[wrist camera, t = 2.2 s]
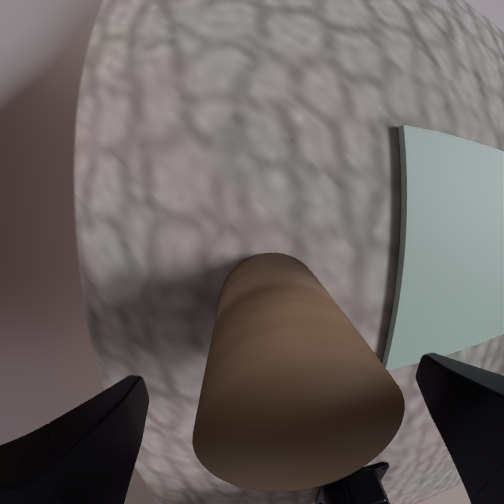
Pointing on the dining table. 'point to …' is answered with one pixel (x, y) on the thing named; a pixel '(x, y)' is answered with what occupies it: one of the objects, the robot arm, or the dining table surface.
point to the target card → (447, 247)
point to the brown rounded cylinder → (289, 384)
